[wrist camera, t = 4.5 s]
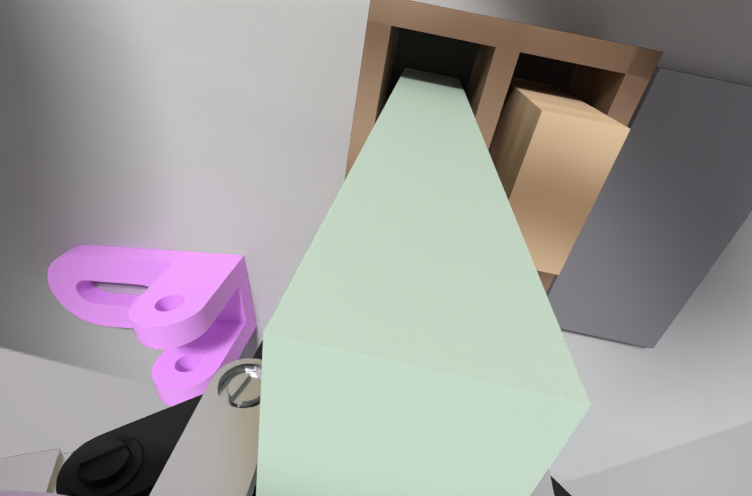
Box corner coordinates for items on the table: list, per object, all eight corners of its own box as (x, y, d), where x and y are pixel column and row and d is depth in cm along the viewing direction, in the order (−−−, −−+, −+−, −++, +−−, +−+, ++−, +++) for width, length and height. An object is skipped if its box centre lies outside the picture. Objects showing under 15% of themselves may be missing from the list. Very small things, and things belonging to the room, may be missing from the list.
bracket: (244, 254, 25) (185, 330, 19) (257, 324, 28) (209, 410, 22) (51, 241, 26) (-62, 308, 20) (81, 309, 29) (-10, 386, 23)
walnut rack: (387, -3, 17) (371, -8, 13) (605, 42, 17) (663, 52, 13) (341, 281, 25) (321, 337, 21) (492, 314, 25) (504, 378, 20)
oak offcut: (501, 74, 18) (542, 110, 11) (555, 85, 18) (630, 128, 11) (468, 178, 21) (486, 259, 14) (516, 188, 21) (558, 275, 14)
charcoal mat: (653, 66, 17) (660, 68, 17) (816, 100, 17) (828, 102, 17) (532, 316, 24) (534, 323, 24) (648, 341, 24) (652, 348, 24)
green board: (405, 67, 19) (262, 333, 3) (459, 78, 19) (591, 405, 3) (369, 252, 24) (246, 704, 8) (411, 261, 24) (368, 733, 8)
